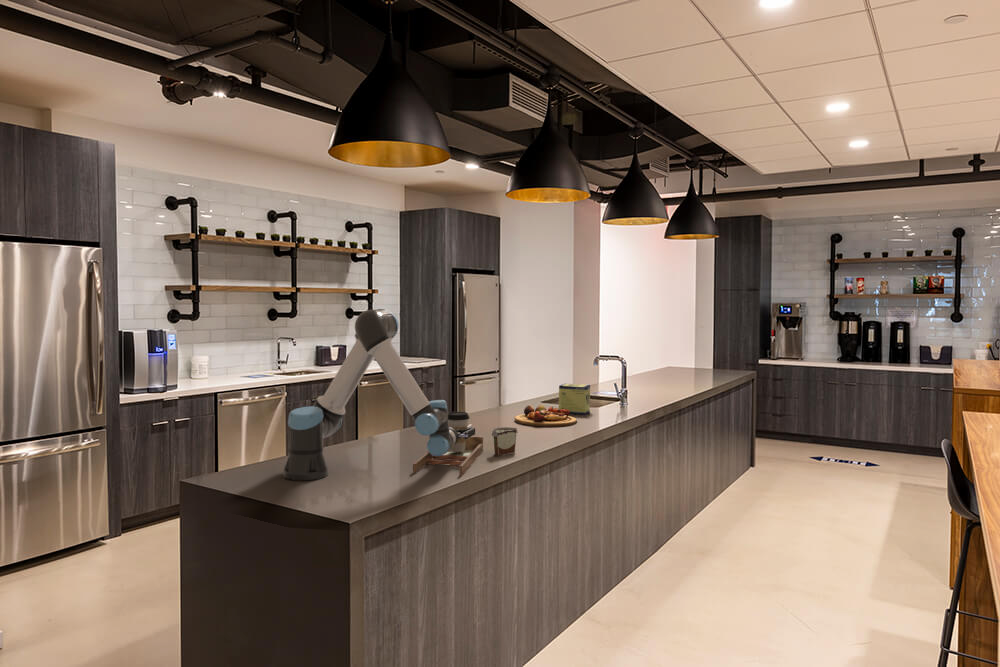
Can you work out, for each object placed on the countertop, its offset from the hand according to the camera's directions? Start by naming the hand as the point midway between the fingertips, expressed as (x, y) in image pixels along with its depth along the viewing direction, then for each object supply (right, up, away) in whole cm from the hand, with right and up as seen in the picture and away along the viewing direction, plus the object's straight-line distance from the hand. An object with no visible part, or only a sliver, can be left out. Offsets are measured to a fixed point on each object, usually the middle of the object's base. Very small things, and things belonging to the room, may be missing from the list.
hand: (459, 427), depth 278 cm
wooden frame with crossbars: (-3, -11, -17) cm, 20 cm away
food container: (+17, -11, -1) cm, 20 cm away
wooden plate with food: (+40, -8, +72) cm, 83 cm away
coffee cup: (-1, -9, -4) cm, 10 cm away
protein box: (+58, -6, +100) cm, 116 cm away
